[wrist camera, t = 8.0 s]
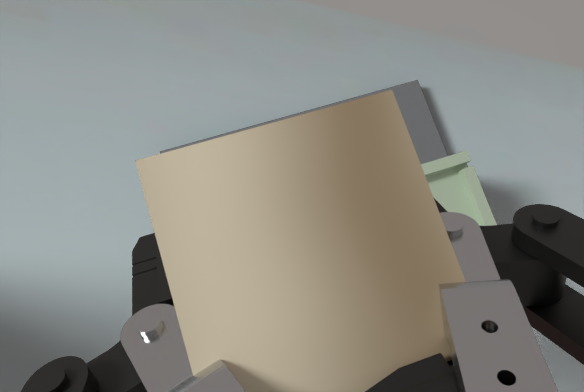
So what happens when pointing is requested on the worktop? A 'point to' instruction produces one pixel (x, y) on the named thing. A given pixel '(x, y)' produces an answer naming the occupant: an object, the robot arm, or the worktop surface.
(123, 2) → the worktop surface
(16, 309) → the worktop surface
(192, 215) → the birch pillar
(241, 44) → the worktop surface
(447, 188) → the green plinth
